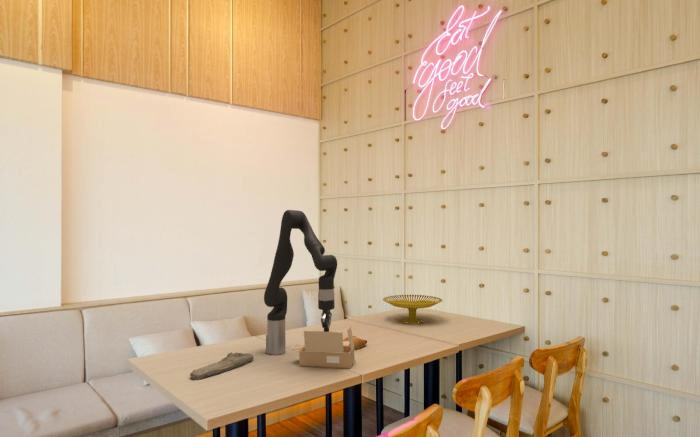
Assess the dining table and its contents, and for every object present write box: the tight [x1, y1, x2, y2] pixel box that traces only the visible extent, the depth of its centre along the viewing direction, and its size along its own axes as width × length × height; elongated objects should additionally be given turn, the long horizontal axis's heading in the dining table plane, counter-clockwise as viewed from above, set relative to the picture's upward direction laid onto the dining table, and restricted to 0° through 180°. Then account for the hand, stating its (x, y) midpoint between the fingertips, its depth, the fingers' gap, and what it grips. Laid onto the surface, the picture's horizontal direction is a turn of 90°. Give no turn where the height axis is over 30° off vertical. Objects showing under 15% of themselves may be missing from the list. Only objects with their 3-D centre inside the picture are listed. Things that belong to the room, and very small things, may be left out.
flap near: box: [303, 330, 344, 353], centre depth 207 cm, size 1×18×10 cm, turn 80°
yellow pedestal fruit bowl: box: [382, 294, 443, 324], centre depth 306 cm, size 40×40×15 cm
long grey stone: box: [189, 352, 255, 381], centre depth 208 cm, size 35×5×10 cm
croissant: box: [343, 335, 368, 351], centre depth 241 cm, size 21×10×8 cm, turn 122°
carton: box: [292, 341, 355, 370], centre depth 219 cm, size 28×20×7 cm
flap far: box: [347, 325, 354, 351], centre depth 213 cm, size 1×7×10 cm, turn 171°
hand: (326, 336), depth 208 cm, fingers closed
